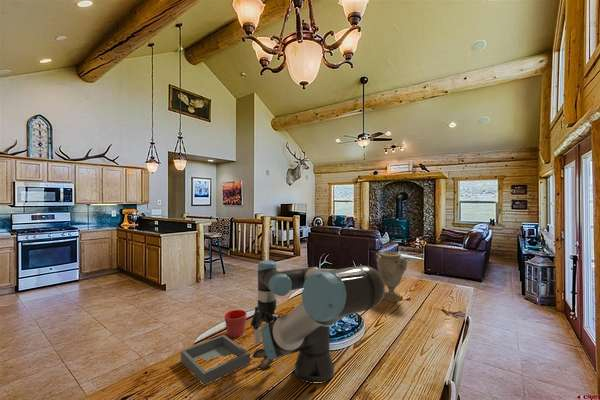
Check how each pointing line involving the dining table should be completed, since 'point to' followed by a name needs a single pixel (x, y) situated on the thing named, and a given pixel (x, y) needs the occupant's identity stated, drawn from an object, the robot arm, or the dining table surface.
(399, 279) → the urn
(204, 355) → the tray
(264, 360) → the eagle figurine
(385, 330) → the dining table surface
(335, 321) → the robot arm
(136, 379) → the dining table surface
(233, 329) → the flower pot
